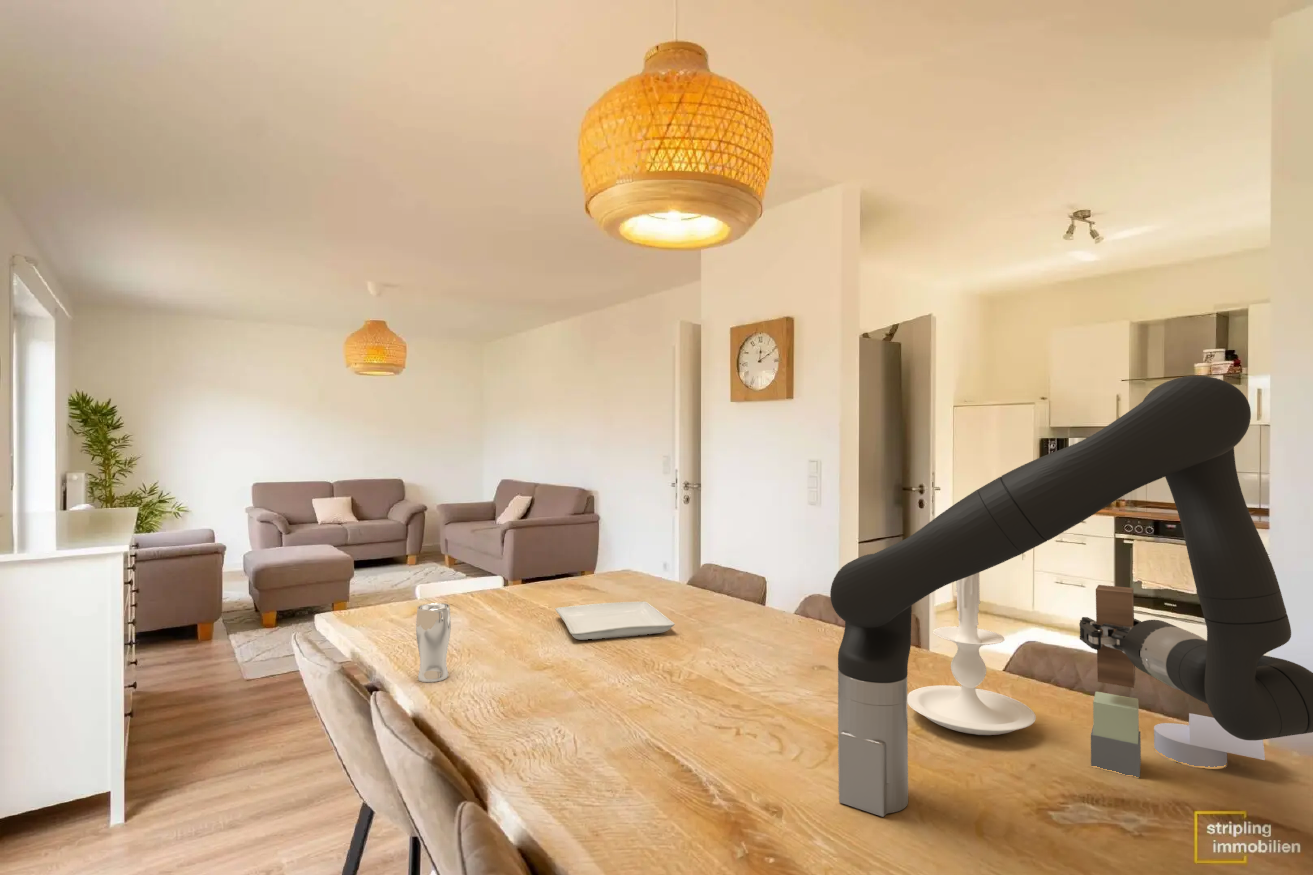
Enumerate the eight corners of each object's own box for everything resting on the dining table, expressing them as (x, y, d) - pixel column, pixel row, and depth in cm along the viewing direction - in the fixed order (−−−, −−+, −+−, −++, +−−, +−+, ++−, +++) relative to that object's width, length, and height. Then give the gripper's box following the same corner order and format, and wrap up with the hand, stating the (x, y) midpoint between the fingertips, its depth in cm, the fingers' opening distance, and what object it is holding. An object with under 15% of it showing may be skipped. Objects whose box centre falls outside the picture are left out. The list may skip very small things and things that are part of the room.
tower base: (1139, 779, 99) (1139, 745, 99) (1091, 767, 103) (1090, 734, 103) (1140, 764, 104) (1140, 731, 104) (1094, 753, 107) (1094, 721, 107)
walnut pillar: (1133, 687, 100) (1131, 592, 100) (1097, 681, 103) (1095, 589, 103) (1135, 679, 104) (1133, 588, 104) (1100, 674, 106) (1098, 584, 107)
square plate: (554, 619, 192) (554, 606, 192) (646, 612, 200) (646, 599, 200) (571, 646, 166) (571, 630, 166) (676, 637, 174) (676, 622, 174)
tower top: (1137, 744, 99) (1137, 709, 99) (1093, 734, 103) (1093, 701, 103) (1138, 731, 104) (1138, 698, 104) (1096, 722, 107) (1095, 691, 107)
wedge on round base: (1258, 760, 105) (1154, 738, 113) (1258, 716, 105) (1154, 698, 113) (1265, 783, 98) (1153, 758, 105) (1264, 736, 98) (1153, 715, 106)
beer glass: (408, 679, 141) (408, 607, 141) (433, 670, 147) (434, 601, 147) (432, 685, 138) (433, 611, 138) (457, 675, 144) (457, 604, 144)
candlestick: (1030, 705, 127) (1029, 556, 128) (1040, 759, 105) (1039, 579, 105) (913, 688, 136) (913, 549, 137) (900, 735, 114) (899, 568, 114)
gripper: (1233, 628, 88) (1156, 601, 105) (1114, 625, 90) (1057, 598, 107) (1234, 686, 88) (1157, 649, 105) (1115, 682, 90) (1058, 646, 107)
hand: (1107, 624), depth 106 cm, fingers closed on walnut pillar, 6 cm apart
